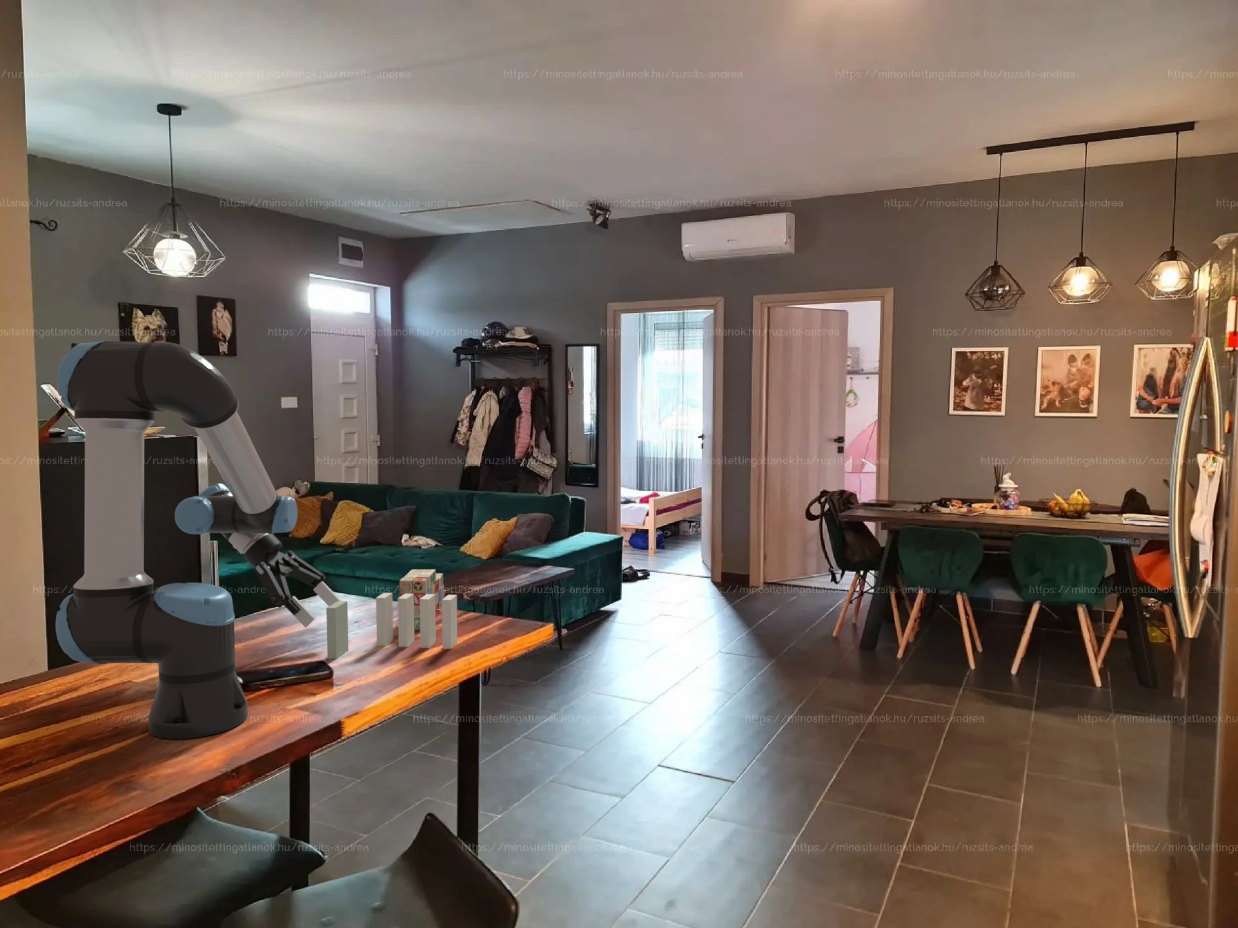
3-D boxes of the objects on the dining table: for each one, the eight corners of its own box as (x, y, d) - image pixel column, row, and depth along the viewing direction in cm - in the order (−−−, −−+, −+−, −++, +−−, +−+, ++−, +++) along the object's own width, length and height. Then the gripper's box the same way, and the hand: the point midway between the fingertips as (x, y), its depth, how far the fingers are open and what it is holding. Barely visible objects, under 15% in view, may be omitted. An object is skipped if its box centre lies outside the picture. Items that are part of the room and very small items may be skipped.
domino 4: (442, 648, 185) (441, 599, 184) (448, 642, 189) (448, 594, 189) (451, 648, 185) (450, 599, 184) (457, 642, 189) (456, 594, 188)
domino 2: (398, 646, 186) (397, 598, 185) (405, 640, 190) (405, 593, 189) (407, 647, 186) (406, 598, 185) (414, 641, 190) (413, 593, 189)
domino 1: (376, 646, 186) (376, 597, 185) (384, 640, 191) (383, 592, 190) (385, 646, 186) (384, 597, 185) (393, 640, 191) (392, 593, 190)
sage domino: (327, 658, 177) (326, 607, 176) (339, 650, 183) (338, 600, 182) (336, 658, 177) (335, 608, 176) (348, 650, 183) (347, 601, 182)
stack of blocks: (420, 607, 221) (420, 561, 220) (444, 607, 221) (444, 561, 220) (399, 630, 199) (398, 579, 198) (426, 630, 199) (425, 579, 198)
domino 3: (420, 647, 185) (419, 598, 184) (427, 641, 190) (426, 594, 189) (429, 647, 185) (428, 599, 184) (435, 641, 190) (435, 594, 189)
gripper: (273, 544, 194) (337, 610, 194) (213, 567, 169) (285, 642, 170) (295, 522, 193) (358, 588, 193) (237, 542, 168) (310, 618, 169)
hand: (324, 614), depth 181 cm, fingers open, 13 cm apart
